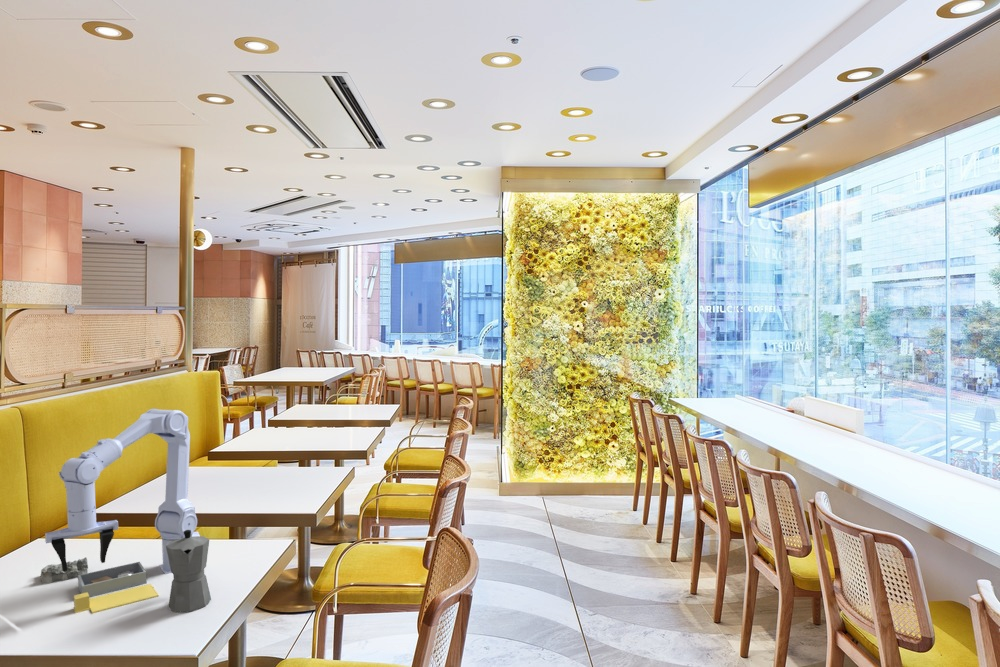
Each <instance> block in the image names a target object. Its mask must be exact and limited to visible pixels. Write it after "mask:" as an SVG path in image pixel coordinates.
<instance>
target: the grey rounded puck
mask: <svg viewBox="0 0 1000 667" xmlns="http://www.w3.org/2000/svg"><path fill="white" fill-rule="evenodd" d="M131 574H134V572H133V571H125V572H121V573H119V574H118V577H123V576H127V575H131Z"/></svg>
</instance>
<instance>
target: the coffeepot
mask: <svg viewBox="0 0 1000 667" xmlns="http://www.w3.org/2000/svg"><path fill="white" fill-rule="evenodd" d="M184 535H185V538H181V539H177V540H173V541H172V542H170V543H169V544H168V545H166V549H167V554H168V559H169V564H170V569H171V572H172V573H171V574H173V579H172V581H171V586H170V587H171V588H170V594H169V600H168V605H167V607H168V608H169V610H170V611H172V612H174V613H190V612H191V613H192V612H195V611H197V610H201V609H203V608H205V607H207V605H209V604H210V601H212V598H211V593H210V588H209V583H208V579H207V575H206V574H205V569H206V567H207V562H208V556H209V555H208V554H209V546H210V538H208V537H207V536H204V535H200V536H193V537H192V534H191V530H186V531H184Z"/></svg>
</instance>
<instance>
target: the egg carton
mask: <svg viewBox="0 0 1000 667" xmlns="http://www.w3.org/2000/svg"><path fill="white" fill-rule="evenodd" d="M66 564H67V571H63V569H62V563H61V562H60V563H59V564H48V565H46V566H45V567H42V569H41V570H40V578H41V584H52V583H53V582H56V581H61V580H62V581H67V580H68V579H71V578H75V577H77V578H78V575H82V574H86V573H89V572H88V571H89V570H88V569H89V565H88V558H87V557H84V558H81V559H78V560H74V561H71V560H69V561H66Z"/></svg>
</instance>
